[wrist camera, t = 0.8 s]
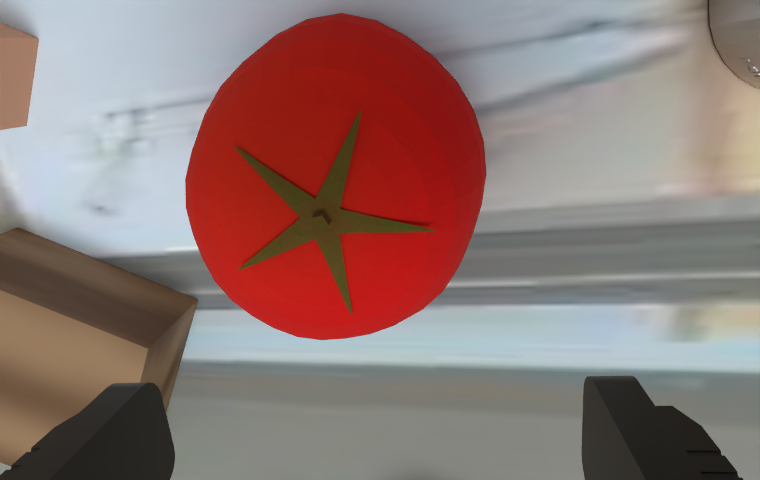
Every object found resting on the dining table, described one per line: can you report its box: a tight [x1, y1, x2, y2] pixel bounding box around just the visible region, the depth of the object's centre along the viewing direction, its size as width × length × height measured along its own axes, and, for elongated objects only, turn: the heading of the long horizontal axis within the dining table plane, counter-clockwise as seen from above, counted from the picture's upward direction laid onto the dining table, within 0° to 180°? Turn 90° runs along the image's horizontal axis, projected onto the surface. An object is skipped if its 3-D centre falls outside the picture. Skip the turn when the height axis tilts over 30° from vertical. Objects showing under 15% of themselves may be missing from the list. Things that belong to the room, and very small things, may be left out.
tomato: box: [185, 13, 486, 340], centre depth 23 cm, size 14×13×10 cm
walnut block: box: [0, 228, 198, 467], centre depth 31 cm, size 12×12×6 cm
